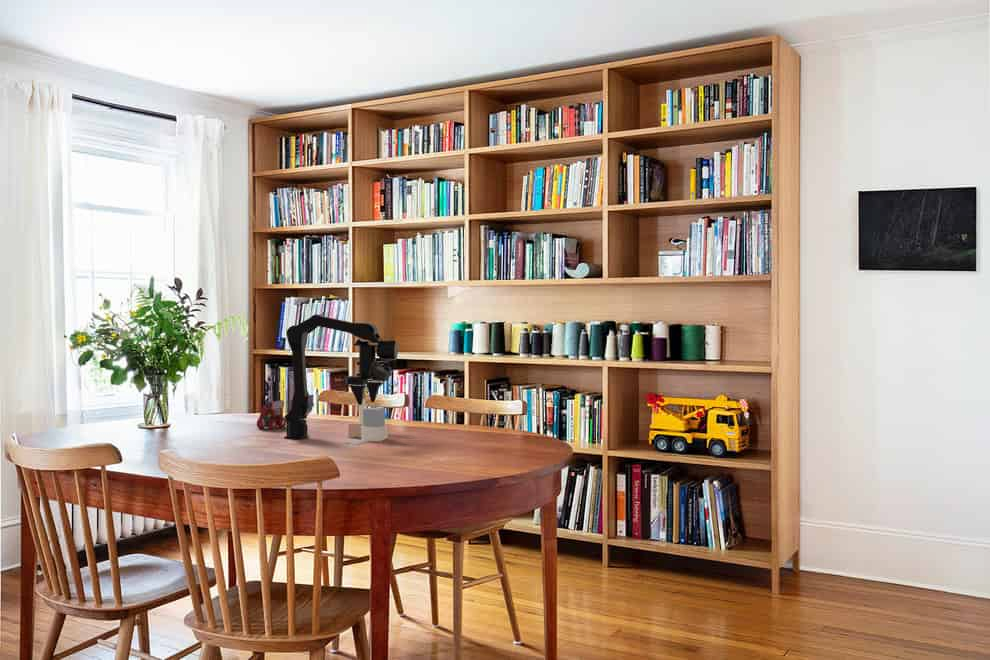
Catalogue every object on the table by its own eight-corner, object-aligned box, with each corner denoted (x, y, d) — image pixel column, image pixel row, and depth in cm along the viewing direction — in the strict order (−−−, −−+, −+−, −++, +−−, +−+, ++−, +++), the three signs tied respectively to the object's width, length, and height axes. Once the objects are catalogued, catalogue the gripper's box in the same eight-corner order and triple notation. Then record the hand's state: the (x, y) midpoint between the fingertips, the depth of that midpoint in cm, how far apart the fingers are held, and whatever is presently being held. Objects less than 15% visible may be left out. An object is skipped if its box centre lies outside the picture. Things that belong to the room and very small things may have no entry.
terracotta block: (348, 437, 311) (348, 423, 311) (351, 435, 316) (351, 421, 316) (362, 437, 311) (362, 423, 311) (365, 435, 316) (365, 421, 316)
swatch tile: (341, 443, 298) (341, 442, 298) (351, 440, 305) (351, 439, 305) (359, 444, 296) (359, 443, 296) (368, 441, 302) (368, 440, 302)
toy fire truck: (252, 429, 329) (252, 402, 329) (275, 425, 340) (275, 398, 340) (267, 431, 326) (267, 403, 325) (289, 426, 337) (289, 399, 337)
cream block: (361, 441, 304) (361, 426, 304) (368, 438, 311) (368, 424, 311) (380, 441, 302) (380, 427, 302) (387, 438, 309) (387, 424, 309)
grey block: (377, 427, 303) (377, 409, 303) (363, 426, 305) (363, 409, 305) (384, 425, 308) (384, 408, 308) (370, 424, 310) (370, 407, 310)
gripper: (375, 361, 295) (374, 407, 295) (400, 358, 312) (399, 402, 313) (346, 360, 299) (345, 405, 299) (372, 357, 316) (371, 400, 317)
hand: (366, 403), depth 307 cm, fingers open, 9 cm apart
